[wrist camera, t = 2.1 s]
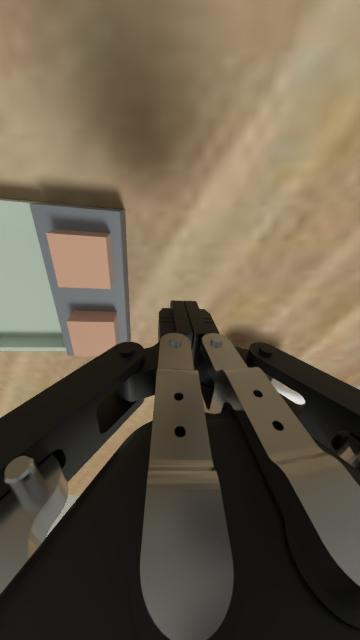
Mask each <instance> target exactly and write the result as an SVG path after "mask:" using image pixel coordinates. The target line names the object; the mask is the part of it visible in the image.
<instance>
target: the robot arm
mask: <svg viewBox="0 0 360 640" xmlns="http://www.w3.org/2000/svg"><path fill="white" fill-rule="evenodd" d="M158 341H159V342H158V343H157V344H156V345H155V346H153V347H150V348H146V349H144V348H143V347H142V346H141V345H140V344H138V343H135V342H123V343H119V344H117V345H115V346H114V347H112V348H110V349H109V350H107V351H106V352H104V353H102V354H101V355H99V356H98V357H96V358H95V359H93V360H91V361H90V362H88V363H87V364H85V365H83V366H82V367H80V368H79V369H77V370H76V371H74V372H72V373H71V374H69V375H68V376H66V377H65V378H63V379H61V380H60V381H58V382H57V383H55V384H53V385H52V386H50V387H49V388H47V389H46V390H44V391H42V392H41V393H39V394H38V395H36V396H35V397H33V398H31V399H30V400H28V401H27V402H25V403H23V404H22V405H20V406H19V407H17V408H16V409H14V410H12V411H11V412H9V413H8V414H6V415H4V416H3V417H1V418H0V640H360V390H359V389H357V388H355V387H353V386H351V385H349V384H347V383H345V382H343V381H341V380H339V379H337V378H335V377H333V376H331V375H329V374H327V373H325V372H323V371H321V370H319V369H317V368H315V367H313V366H311V365H309V364H307V363H305V362H303V361H301V360H299V359H297V358H295V357H293V356H291V355H289V354H287V353H285V352H283V351H281V350H279V349H277V348H275V347H273V346H271V345H269V344H266V343H260V342H258V343H253V344H251V345H250V348H249V350H246V349H242V348H237V347H234V346H233V344H232V343H231V341H230V340H229V339H228V338H227V337H225V336H223V335H221V334H220V333H219V331H218V329H217V327H216V325H215V323H214V321H213V319H212V317H211V315H210V313H208V312H207V311H206V310H205V309H199V307H198V305H197V302H196V301H184V302H183V301H171V304H170V308H162V309H161V311H160V312H159V327H158ZM273 378H274V379H275V380H277V381H279V382H280V383H282V384H284V385H285V386H287V387H289V388H291V389H292V390H294V391H296V392H297V393H299V394H300V395H301V396H302V397H303V398H304V400H305V404H302V405H300V404H296V403H294V402H293V401H291V400H290V399H288V398H286V397H285V396H283V395H282V394H280V393H278V391H277V390H276V388H275V387H274V386H273V384H272V383H271V381H272V379H273ZM152 395H155V400H154V411H153V421H151V422H149V423H146V424H145V425H143V426H141V427H140V428H138V429H137V430H136V431H134V432H133V433H132V434H131V435H130V436H129V437H128V438H127V439H126V440H125V441H124V442H123V444H122V445H121V446H120V447H119V449H118V450H117V451H116V452H115V453H114V455H113V456H112V457H111V458H110V460H109V461H108V462H107V463H106V465H105V466H104V467H103V468H102V469H101V471H100V472H99V473H98V474H97V476H96V477H95V478H94V479H93V481H92V482H91V483H90V484H89V485H88V487H87V488H86V489H85V490H84V492H83V493H82V494H81V495H80V497H79V498H78V499H77V500H76V502H75V503H74V504H73V505H72V506H71V508H70V509H69V510H68V512H67V513H66V514H65V515H64V516H63V517H62V519H61V520H60V521H59V522H58V524H57V525H56V526H55V527H54V529H53V530H52V531H51V532H50V534H49V535H48V536H47V537H46V535H47V533H48V531H49V529H50V527H51V525H52V524H53V522H54V521H55V520H56V518H57V517H58V515H59V514H60V513H61V511H62V509H63V508H64V505H65V503H66V500H67V497H68V483H67V482H68V481H69V480H70V479H71V478H72V477H73V476H74V475H75V474H76V473H77V472H78V471H79V470H80V469H81V467H82V466H83V465H84V464H85V463H86V462H87V461H88V460H89V459H90V458H91V457H92V456H93V455H94V454H95V453H96V452H97V451H98V450H99V448H100V447H101V446H102V445H103V444H104V443H105V442H106V441H107V440H108V439H109V438H110V437H111V436H112V435H113V434H114V433H115V432H116V430H117V429H118V428H119V427H120V426H121V425H122V424H123V423H124V422H125V421H126V420H127V419H128V418H129V417H130V416H131V415H132V414H133V413H134V411H135V410H136V409H137V408H138V407H139V406H140V405H141V404H142V403H143V401H144V398H146V397H149V396H152Z"/></svg>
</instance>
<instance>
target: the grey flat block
mask: <svg viewBox="0 0 360 640" xmlns="http://www.w3.org/2000/svg"><path fill="white" fill-rule="evenodd" d="M29 205H30V209H31V213H32V217H33V221H34V225H35V229H36V233H37V237H38V241H39V244H40V248H41V252H42V256H43V260H44V264H45V268H46V272H47V276H48V280H49V284H50V288H51V292H52V296H53V300H54V304H55V307H56V311H57V315H58V319H59V323H60V327H61V331H62V335H63V339H64V343H65V347H66V351H67V355H74V352H73V348H72V343H71V339H70V335H69V330H68V326H67V322H66V321H67V320H68V319H69V317H70V316H71V314H72V313H73V311H112V312H117V316H118V328H119V341H120V343H123V342H130V340H131V334H130V312H129V290H128V268H127V245H126V223H125V210H123V209H112V208H101V207H90V206H79V205H68V204H58V203H31V204H29ZM57 229H61V230H75V231H88V232H101V233H111V241H112V254H113V266H114V279H115V281H114V283H113V285H112V287H111V289H94V288H68V287H58V283H57V279H56V274H55V270H54V266H53V261H52V257H51V253H50V249H49V244H48V240H47V236H46V233H48V232H51V231H54V230H57Z"/></svg>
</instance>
